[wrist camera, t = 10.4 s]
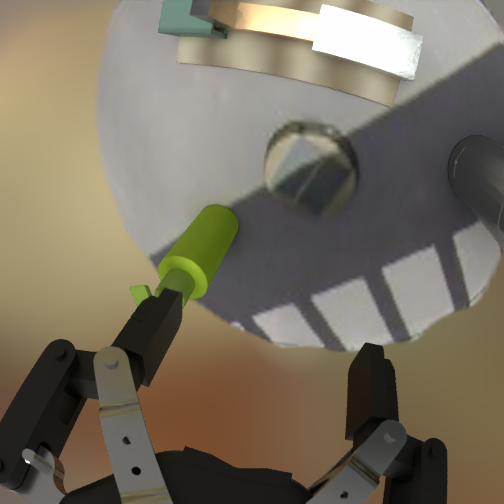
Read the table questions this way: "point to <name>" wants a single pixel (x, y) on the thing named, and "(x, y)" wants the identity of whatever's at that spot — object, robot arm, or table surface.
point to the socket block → (185, 22)
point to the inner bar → (257, 19)
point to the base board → (298, 52)
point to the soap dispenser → (195, 255)
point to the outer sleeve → (367, 43)
